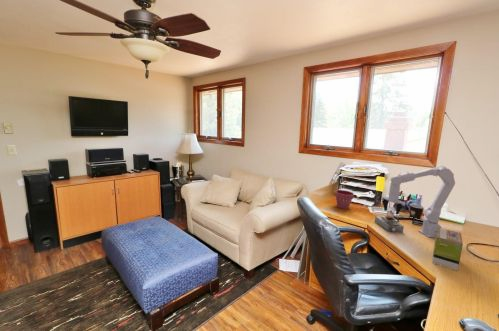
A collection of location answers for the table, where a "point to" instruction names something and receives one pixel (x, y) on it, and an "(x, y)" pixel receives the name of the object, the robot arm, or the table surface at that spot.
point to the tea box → (447, 248)
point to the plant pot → (344, 198)
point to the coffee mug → (415, 210)
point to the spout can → (390, 215)
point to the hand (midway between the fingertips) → (391, 212)
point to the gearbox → (389, 224)
